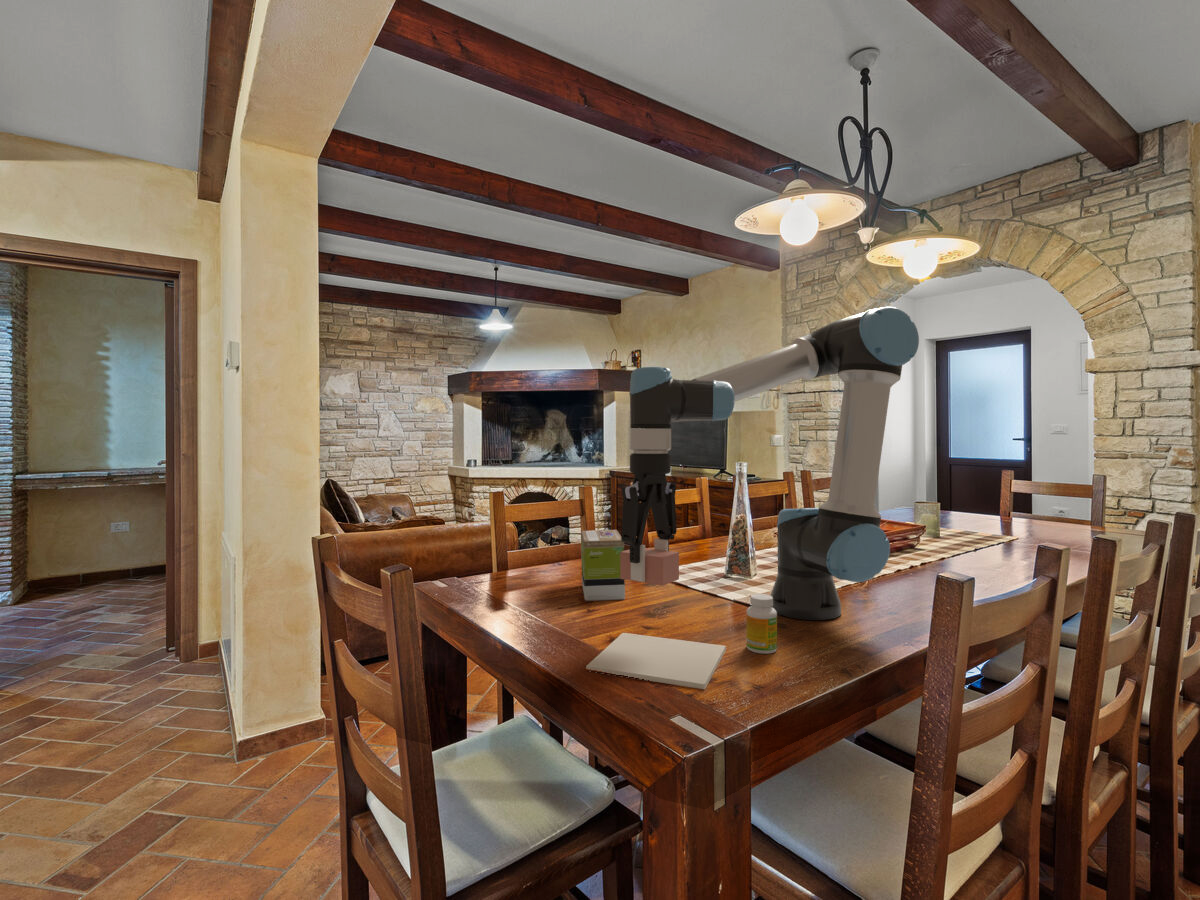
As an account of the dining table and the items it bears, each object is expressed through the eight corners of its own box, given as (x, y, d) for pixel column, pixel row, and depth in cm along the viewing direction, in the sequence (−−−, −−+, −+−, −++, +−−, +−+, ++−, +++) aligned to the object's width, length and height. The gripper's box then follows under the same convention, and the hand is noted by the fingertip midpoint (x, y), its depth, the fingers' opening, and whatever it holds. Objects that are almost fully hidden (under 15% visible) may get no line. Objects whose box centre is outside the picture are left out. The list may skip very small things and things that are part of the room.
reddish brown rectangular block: (637, 573, 115) (637, 547, 115) (678, 579, 110) (679, 552, 109) (620, 578, 110) (620, 551, 110) (663, 585, 105) (663, 557, 105)
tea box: (580, 585, 156) (580, 529, 156) (618, 584, 157) (618, 528, 156) (583, 601, 141) (583, 539, 141) (625, 600, 142) (625, 538, 141)
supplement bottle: (772, 656, 105) (772, 602, 105) (742, 651, 108) (742, 598, 108) (780, 647, 110) (780, 595, 110) (751, 642, 113) (751, 591, 112)
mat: (725, 650, 108) (725, 645, 108) (704, 689, 92) (705, 684, 92) (622, 636, 116) (622, 632, 116) (586, 670, 99) (586, 666, 99)
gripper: (664, 450, 119) (663, 565, 119) (599, 452, 104) (599, 583, 105) (696, 451, 114) (695, 571, 114) (633, 453, 99) (632, 590, 100)
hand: (649, 576), depth 110 cm, fingers closed on reddish brown rectangular block, 6 cm apart
